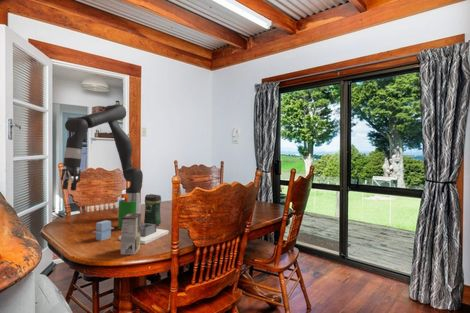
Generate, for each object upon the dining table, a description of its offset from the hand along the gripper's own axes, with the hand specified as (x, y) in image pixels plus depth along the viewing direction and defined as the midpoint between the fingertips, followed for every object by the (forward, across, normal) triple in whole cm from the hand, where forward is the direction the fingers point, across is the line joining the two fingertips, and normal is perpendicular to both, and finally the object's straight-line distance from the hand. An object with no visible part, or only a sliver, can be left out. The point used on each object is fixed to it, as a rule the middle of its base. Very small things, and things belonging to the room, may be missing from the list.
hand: (68, 189), depth 136 cm
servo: (+24, -12, -14) cm, 30 cm away
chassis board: (+22, -24, -29) cm, 44 cm away
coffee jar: (+20, -9, -47) cm, 52 cm away
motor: (+21, -3, -33) cm, 39 cm away
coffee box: (+25, -37, -12) cm, 46 cm away
